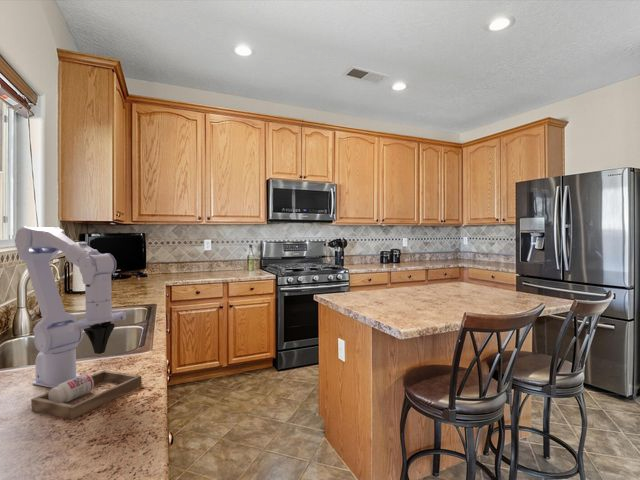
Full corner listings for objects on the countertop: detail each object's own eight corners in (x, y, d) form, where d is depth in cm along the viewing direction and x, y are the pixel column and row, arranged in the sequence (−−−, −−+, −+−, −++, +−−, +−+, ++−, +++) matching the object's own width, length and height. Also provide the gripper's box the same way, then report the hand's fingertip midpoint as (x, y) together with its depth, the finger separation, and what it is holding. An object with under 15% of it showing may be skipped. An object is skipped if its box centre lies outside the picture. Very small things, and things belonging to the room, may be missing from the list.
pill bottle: (95, 376, 90) (62, 390, 82) (93, 393, 90) (60, 409, 82) (81, 371, 91) (47, 384, 83) (80, 389, 91) (46, 404, 83)
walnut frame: (31, 409, 81) (31, 399, 81) (104, 379, 99) (104, 370, 99) (72, 419, 77) (72, 408, 77) (141, 385, 94) (141, 376, 94)
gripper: (81, 306, 83) (82, 364, 83) (134, 296, 96) (134, 346, 96) (61, 305, 85) (62, 360, 85) (115, 295, 99) (116, 343, 99)
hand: (99, 352), depth 91 cm, fingers closed
